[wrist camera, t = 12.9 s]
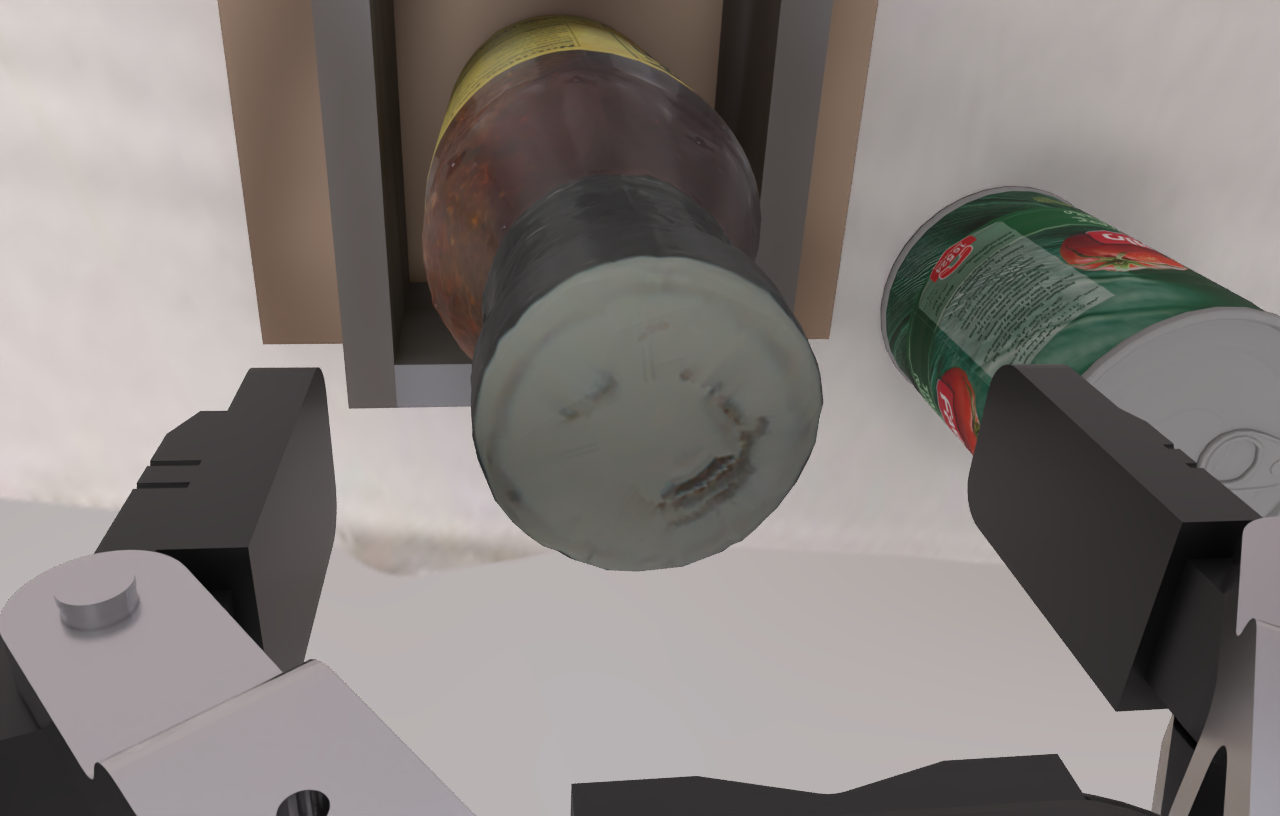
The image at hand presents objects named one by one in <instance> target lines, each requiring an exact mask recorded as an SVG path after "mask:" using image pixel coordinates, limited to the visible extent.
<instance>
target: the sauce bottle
mask: <svg viewBox="0 0 1280 816" xmlns="http://www.w3.org/2000/svg"><path fill="white" fill-rule="evenodd" d="M760 230H761V209H760V200H759V194H758V190H757V185H756V180H755V177H754V174H753V172H752V169H751V166H750V163H749V161H748V159H747V157H746V155H745V153H744V151H743V149H742V147H741V145H740V144H739V142H738V140H737V139H736V137H735V135H734V134H733V132H732V131H731V130H730V128H729V127H728V126H727V124H726V123H725V122H724V120H723V119H722V118H721V117H720V115H719V114H718V113H717V112H716V111H715V110H714V109H713V108H712V107H711V106H710V105H709V104H708V103H707V102H706V101H705V100H704V99H703V98H701V97H700V96H699V95H698V94H697V93H696V92H694V91H693V90H692V89H691V88H690V87H689V86H687V85H686V84H685V83H684V82H682V81H681V80H680V79H679V78H678V77H677V76H675V75H674V74H673V73H672V72H671V71H670V70H669V69H667V68H666V67H664V66H663V65H661V64H660V63H659V62H658V61H656V60H655V59H653V58H652V57H651V56H650V55H649V54H648V53H646V52H645V51H644V50H642V49H641V48H640V47H639V46H637V45H636V44H635V43H634V42H632V41H631V40H630V39H628V38H627V37H626V36H624V35H623V34H621V33H619V32H618V31H616V30H615V29H613V28H611V27H609V26H607V25H605V24H603V23H601V22H598V21H595V20H592V19H589V18H585V17H579V16H572V15H545V16H539V17H533V18H529V19H525V20H521V21H519V22H517V23H514V24H512V25H510V26H507V27H505V28H503V29H500V30H498V31H497V32H496V33H495V34H494V35H493V36H491V37H490V38H489V39H488V40H487V41H486V42H484V43H483V44H482V45H481V46H480V47H479V48H478V50H477V51H476V52H475V53H474V54H473V55H472V56H471V58H470V59H469V61H468V62H467V63H466V65H465V66H464V68H463V69H462V71H461V73H460V75H459V77H458V79H457V81H456V83H455V86H454V88H453V91H452V94H451V98H450V101H449V104H448V108H447V111H446V114H445V118H444V121H443V124H442V128H441V131H440V134H439V138H438V141H437V145H436V148H435V151H434V155H433V158H432V162H431V166H430V170H429V174H428V178H427V187H426V196H425V214H424V226H423V232H422V246H423V261H424V267H425V270H426V272H427V281H428V285H429V288H430V291H431V295H432V303H433V306H434V307H435V309H436V310H437V311H438V313H439V314H440V316H441V318H442V320H443V323H444V324H445V325H446V327H447V328H448V329H449V331H450V332H451V334H452V335H453V337H454V339H455V340H456V341H457V342H458V345H459V347H460V348H461V349H462V350H463V351H464V352H465V353H466V355H467V356H468V357H469V358H471V359H472V372H471V377H470V378H471V417H472V437H473V441H474V445H475V449H476V454H477V458H478V461H479V463H480V466H481V468H482V471H483V473H484V475H485V478H486V480H487V483H488V485H489V487H490V490H491V492H492V495H493V497H494V499H495V501H496V502H497V503H498V504H499V506H500V507H501V508H502V509H503V511H504V512H505V513H506V514H507V516H508V517H509V518H510V519H511V520H512V522H513V523H514V524H516V525H517V526H518V527H519V528H520V529H521V530H522V531H523V532H525V533H526V534H527V535H528V536H530V537H531V538H532V539H534V540H535V541H537V542H538V543H539V544H541V545H542V546H545V547H548V548H551V549H554V550H557V551H559V552H560V553H562V554H564V555H566V556H567V557H569V558H571V559H574V560H577V561H580V562H583V563H587V564H590V565H593V566H596V567H599V568H603V569H606V570H619V571H645V570H655V569H664V568H673V567H682V566H685V565H688V564H690V563H693V562H696V561H698V560H701V559H704V558H706V557H709V556H711V555H714V554H717V553H719V552H722V551H724V550H725V549H726V548H728V547H729V546H730V545H732V544H735V543H737V542H740V541H742V540H743V539H744V538H746V537H747V536H748V535H749V534H750V533H751V532H753V531H754V530H755V529H756V528H757V527H758V526H759V525H760V524H761V523H762V522H763V521H764V520H765V519H766V518H767V517H768V516H769V515H770V514H771V513H772V512H773V511H774V510H775V509H776V508H777V507H778V506H779V504H780V503H781V502H782V500H783V499H784V498H785V496H786V495H787V494H788V492H789V491H790V490H791V489H792V487H793V486H794V485H795V483H796V482H797V480H798V478H799V476H800V474H801V472H802V471H803V469H804V467H805V465H806V463H807V461H808V459H809V457H810V455H811V452H812V450H813V447H814V445H815V442H816V436H817V429H818V423H819V417H820V413H821V409H822V406H823V395H822V386H821V377H820V372H819V367H818V363H817V361H816V358H815V356H814V353H813V351H812V349H811V347H810V345H809V342H808V339H807V338H806V336H805V333H804V331H803V328H802V326H801V325H800V323H799V322H798V320H797V318H796V317H795V315H794V314H793V312H792V311H791V309H790V308H789V306H788V304H787V302H786V300H785V297H784V295H783V294H782V292H781V291H780V290H779V289H778V287H777V286H776V285H775V284H774V283H773V282H772V280H771V279H770V278H769V277H768V276H767V275H766V274H765V272H764V271H763V270H762V269H761V268H760V267H759V266H758V265H757V264H756V263H755V260H756V257H757V253H758V249H759V243H760Z"/></svg>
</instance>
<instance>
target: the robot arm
mask: <svg viewBox="0 0 1280 816" xmlns="http://www.w3.org/2000/svg"><path fill="white" fill-rule="evenodd" d="M968 501H969V507H970V511H971V514H972V517H973V520H974V522H975V524H976V525H977V527H978V528H979V530H980V531H981V532H982V534H983V535H984V536H985V538H986V539H987V540H988V542H989V543H990V544H991V546H992V547H993V548H994V550H995V551H996V552H997V554H998V555H999V556H1000V558H1001V559H1002V560H1003V562H1004V563H1005V564H1006V566H1007V567H1008V568H1009V570H1010V571H1011V572H1012V574H1013V575H1014V576H1015V578H1016V579H1017V580H1018V582H1019V583H1020V584H1021V586H1022V587H1023V588H1024V590H1025V591H1026V592H1027V594H1028V595H1029V596H1030V598H1031V599H1032V600H1033V602H1034V603H1035V604H1036V606H1037V607H1038V608H1039V610H1040V611H1041V612H1042V614H1043V615H1044V616H1045V617H1046V619H1047V620H1048V622H1049V623H1050V624H1051V625H1052V627H1053V628H1054V630H1055V631H1056V632H1057V634H1058V635H1059V636H1060V638H1061V639H1062V640H1063V642H1064V643H1065V644H1066V646H1067V647H1068V648H1069V650H1070V651H1071V652H1072V654H1073V655H1074V656H1075V658H1076V659H1077V660H1078V661H1079V663H1080V664H1081V666H1082V667H1083V668H1084V670H1085V671H1086V672H1087V674H1088V675H1089V676H1090V678H1091V679H1092V680H1093V682H1094V683H1095V684H1096V685H1097V687H1098V688H1099V690H1100V691H1101V692H1102V693H1103V695H1104V696H1105V698H1106V699H1107V700H1108V702H1109V703H1110V704H1111V706H1112V707H1113V708H1114V710H1115V711H1134V710H1152V709H1169V710H1170V711H1171V712H1172V717H1171V719H1170V722H1169V724H1168V727H1167V730H1166V732H1165V735H1164V738H1163V741H1162V745H1161V751H1160V758H1159V765H1158V771H1157V779H1156V784H1155V791H1154V798H1153V804H1152V811H1148V810H1145V809H1142V808H1139V807H1136V806H1133V805H1130V804H1127V803H1124V802H1121V801H1116V800H1112V799H1108V798H1104V797H1100V796H1096V795H1090V794H1085V793H1082V792H1081V790H1080V789H1079V787H1078V786H1077V784H1076V782H1075V781H1074V779H1073V777H1072V776H1071V775H1070V773H1069V771H1068V770H1067V768H1066V767H1065V765H1064V764H1063V762H1062V760H1061V759H1060V757H1059V756H1058V754H1048V755H1031V756H1015V757H999V758H983V759H967V760H950V761H942V762H939V763H936V764H932V765H930V766H926V767H923V768H920V769H916V770H913V771H910V772H907V773H903V774H900V775H897V776H894V777H891V778H887V779H884V780H881V781H878V782H875V783H872V784H868V785H865V786H862V787H859V788H855V789H853V790H849V791H846V792H842V793H837V794H818V793H811V792H804V791H797V790H790V789H783V788H776V787H769V786H762V785H755V784H747V783H741V782H734V781H727V780H720V779H713V778H705V777H699V776H691V777H675V778H659V779H643V780H627V781H610V782H594V783H578V784H572V791H571V816H1280V517H1266V518H1263V517H1262V516H1261V515H1260V514H1258V513H1257V512H1256V511H1255V510H1253V509H1252V508H1251V507H1250V506H1249V505H1247V504H1246V503H1245V502H1244V501H1243V500H1241V499H1240V498H1239V497H1238V496H1236V495H1235V494H1234V493H1233V492H1232V491H1230V490H1229V489H1228V488H1227V487H1226V486H1224V485H1223V484H1222V483H1221V482H1219V481H1218V480H1217V479H1216V478H1215V477H1213V476H1212V475H1211V474H1210V473H1208V472H1207V471H1206V470H1205V469H1204V468H1197V463H1196V462H1195V461H1194V460H1193V459H1191V458H1190V457H1189V456H1188V455H1187V454H1185V453H1184V452H1183V451H1182V450H1181V449H1174V444H1173V443H1172V442H1171V441H1170V440H1168V439H1167V438H1166V437H1165V436H1164V435H1162V434H1161V433H1160V432H1159V431H1157V430H1156V429H1155V428H1154V427H1153V426H1151V425H1150V424H1149V423H1148V422H1147V421H1144V420H1142V419H1140V418H1138V417H1136V416H1134V415H1132V414H1130V413H1128V412H1126V411H1124V410H1122V409H1120V408H1119V407H1117V406H1116V405H1115V404H1114V403H1113V402H1111V401H1110V400H1109V399H1108V398H1107V397H1106V396H1104V395H1103V394H1102V393H1101V392H1100V391H1098V390H1097V389H1096V388H1095V387H1094V386H1092V385H1091V384H1090V383H1089V382H1088V381H1086V380H1085V379H1084V378H1083V377H1082V376H1080V375H1079V374H1078V373H1077V372H1076V371H1074V370H1073V369H1072V368H1071V367H1069V366H1068V365H1065V364H1009V365H1003V366H1001V367H1000V368H999V369H998V370H997V371H996V372H995V374H994V376H993V378H992V380H991V382H990V386H989V390H988V394H987V398H986V403H985V407H984V411H983V416H982V420H981V424H980V429H979V433H978V437H977V442H976V446H975V450H974V455H973V459H972V463H971V468H970V472H969V477H968ZM336 507H337V505H336V485H335V475H334V465H333V455H332V446H331V436H330V426H329V416H328V406H327V396H326V388H325V381H324V377H323V374H322V371H321V369H320V368H251V369H249V371H248V372H247V374H246V376H245V378H244V380H243V382H242V384H241V386H240V388H239V390H238V391H237V393H236V395H235V397H234V399H233V401H232V403H231V405H230V407H229V409H228V411H200V412H199V413H197V414H196V415H194V416H193V417H191V418H190V419H188V420H187V421H185V422H184V423H182V424H181V425H179V426H178V427H177V428H175V429H174V430H172V431H171V432H169V433H168V434H166V436H165V438H164V439H163V441H162V443H161V444H160V446H159V447H158V449H157V451H156V452H155V454H154V456H153V457H152V459H151V461H150V466H147V467H146V469H145V471H144V472H143V474H142V475H141V477H140V479H139V480H138V482H137V489H133V490H132V492H131V494H130V495H129V497H128V498H127V500H126V502H125V503H124V505H123V507H122V508H121V510H120V512H119V513H118V515H117V517H116V518H115V520H114V522H113V523H112V525H111V526H110V528H109V530H108V531H107V533H106V535H105V537H104V538H103V540H102V541H101V543H100V545H99V546H98V548H97V550H96V551H95V553H94V554H92V555H88V556H84V557H81V558H78V559H74V560H71V561H68V562H65V563H63V564H60V565H58V566H55V567H53V568H51V569H49V570H47V571H45V572H43V573H42V574H40V575H38V576H36V577H35V578H33V579H32V580H30V581H29V582H27V583H26V584H25V585H23V586H22V587H21V588H20V589H19V590H17V591H16V592H15V593H14V594H13V595H12V597H11V598H10V599H9V600H8V601H7V603H6V604H5V606H4V607H3V609H2V611H1V614H0V816H476V815H475V814H474V813H473V812H472V811H471V810H470V809H469V808H468V807H467V806H466V805H465V804H464V803H463V802H462V801H461V800H460V799H459V798H458V797H457V796H456V795H455V794H454V793H453V792H452V791H451V790H450V789H449V788H448V787H447V786H446V785H445V784H444V783H443V782H442V781H441V780H440V779H439V778H438V777H437V776H436V775H435V774H434V772H433V771H431V770H430V768H429V767H427V765H426V764H425V763H424V762H423V761H422V760H421V759H420V758H419V757H418V756H417V755H416V754H415V753H414V752H413V751H412V750H411V749H410V748H409V747H408V746H407V745H406V744H405V743H404V742H403V741H402V740H401V739H400V738H399V737H398V736H397V735H396V734H395V733H394V732H393V731H392V730H391V729H390V728H389V727H388V726H387V725H386V724H385V723H384V722H383V721H382V720H381V719H380V718H379V717H378V716H377V714H376V713H375V712H374V711H372V709H371V708H370V707H368V706H367V704H366V703H365V702H364V701H363V700H362V699H361V698H360V697H359V696H358V695H357V694H356V693H355V692H354V691H353V690H352V689H351V688H350V687H349V686H348V685H347V684H346V683H345V682H344V681H343V680H342V679H341V678H340V677H339V676H338V675H337V674H336V673H335V672H334V671H333V670H332V669H331V668H330V667H329V666H327V665H326V664H324V663H323V662H321V661H318V660H316V659H310V660H308V661H306V662H304V658H305V654H306V650H307V646H308V642H309V638H310V634H311V630H312V626H313V622H314V618H315V614H316V610H317V606H318V602H319V598H320V594H321V590H322V587H323V583H324V579H325V574H326V570H327V567H328V563H329V559H330V555H331V551H332V547H333V542H334V537H335V529H336ZM303 662H304V663H303Z"/></svg>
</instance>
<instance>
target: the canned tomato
mask: <svg viewBox="0 0 1280 816" xmlns="http://www.w3.org/2000/svg"><path fill="white" fill-rule="evenodd" d="M881 329H882V333H883V338H884V342H885V346H886V349H887V351H888V353H889V355H890V357H891V359H892V361H893V363H894V365H895V367H896V368H897V369H898V370H899V371H900V373H901V374H902V375H903V376H904V377H905V378H906V380H907V381H909V382H910V383H911V384H913V385H914V387H915V388H916V390H917V391H918V392H919V393H920V394H921V395H922V397H923V398H924V399H925V400H926V401H927V402H928V403H929V405H930V406H931V407H932V408H933V409H934V411H935V412H936V413H937V414H938V415H939V416H940V417H941V419H942V420H943V421H944V422H945V423H946V425H948V427H949V428H950V429H951V430H952V431H953V433H954V434H955V435H956V436H957V437H958V438H959V439H960V440H961V442H962V443H963V444H964V445H965V446H966V448H967V449H968V450H969V451H970V452H971V453H972V454H973V455H974V450H975V446H976V442H977V437H978V433H979V429H980V424H981V420H982V416H983V411H984V407H985V403H986V398H987V394H988V390H989V386H990V382H991V380H992V378H993V376H994V374H995V372H996V371H997V370H998V369H999V368H1000V367H1001V366H1003V365H1009V364H1065V365H1068V366H1069V367H1071V368H1072V369H1073V370H1074V371H1076V372H1077V373H1078V374H1079V375H1080V376H1082V377H1083V378H1084V379H1085V380H1086V381H1088V382H1089V383H1090V384H1091V385H1092V386H1094V387H1095V388H1096V389H1097V390H1098V391H1100V392H1101V393H1102V394H1103V395H1104V396H1106V397H1107V398H1108V399H1109V400H1110V401H1111V402H1113V403H1114V404H1115V405H1116V406H1117V407H1119V408H1120V409H1122V410H1124V411H1126V412H1128V413H1130V414H1132V415H1134V416H1136V417H1138V418H1140V419H1142V420H1144V421H1147V422H1148V423H1149V424H1150V425H1151V426H1153V427H1154V428H1155V429H1156V430H1157V431H1159V432H1160V433H1161V434H1162V435H1164V436H1165V437H1166V438H1167V439H1168V440H1170V441H1171V442H1172V443H1173V444H1174V449H1181V450H1182V451H1183V452H1184V453H1185V454H1187V455H1188V456H1189V457H1190V458H1191V459H1193V460H1194V461H1195V462H1196V463H1197V468H1204V469H1205V470H1206V471H1207V472H1208V473H1210V474H1211V475H1212V476H1213V477H1215V478H1216V479H1217V480H1218V481H1219V482H1221V483H1222V484H1223V485H1224V486H1226V487H1227V488H1228V489H1229V490H1230V491H1232V492H1233V493H1234V494H1235V495H1236V496H1238V497H1239V498H1240V499H1241V500H1243V501H1244V502H1245V503H1246V504H1247V505H1249V506H1250V507H1251V508H1252V509H1253V510H1255V511H1256V512H1257V513H1258V514H1260V515H1261V516H1262V517H1263V518H1266V517H1280V316H1278V315H1276V314H1273V313H1269V312H1266V311H1264V310H1262V309H1260V308H1259V307H1257V306H1256V305H1254V304H1253V303H1252V302H1250V301H1248V300H1246V299H1244V298H1242V297H1241V296H1239V295H1237V294H1235V293H1233V292H1231V291H1230V290H1228V289H1226V288H1224V287H1222V286H1220V285H1218V284H1217V283H1215V282H1213V281H1211V280H1209V279H1207V278H1206V277H1204V276H1202V275H1200V274H1198V273H1196V272H1194V271H1192V270H1191V269H1189V268H1187V267H1185V266H1183V265H1181V264H1180V263H1178V262H1176V261H1174V260H1172V259H1171V258H1169V257H1167V256H1165V255H1163V254H1161V253H1159V252H1157V251H1156V250H1154V249H1152V248H1150V247H1148V246H1146V245H1144V244H1143V243H1141V242H1139V241H1137V240H1135V239H1134V238H1132V237H1130V236H1128V235H1126V234H1124V233H1123V232H1121V231H1119V230H1117V229H1115V228H1113V227H1111V226H1110V225H1108V224H1106V223H1104V222H1102V221H1100V220H1098V219H1097V218H1095V217H1093V216H1091V215H1089V214H1087V213H1085V212H1084V211H1082V210H1080V209H1077V208H1075V207H1074V206H1073V205H1072V204H1070V203H1069V202H1067V201H1065V200H1064V199H1062V198H1060V197H1058V196H1056V195H1054V194H1052V193H1049V192H1045V191H1042V190H1038V189H1034V188H1030V187H1002V188H996V189H990V190H984V191H981V192H979V193H976V194H973V195H971V196H968V197H965V198H962V199H960V200H959V201H957V202H955V203H954V204H952V205H950V206H948V207H947V208H945V209H943V210H941V211H940V212H939V213H938V214H936V215H935V216H934V217H933V218H932V219H930V220H929V221H928V222H927V223H926V224H924V225H923V226H922V227H921V228H920V229H919V230H918V232H917V233H916V234H915V235H914V236H913V237H912V238H911V240H910V241H909V242H908V243H907V244H906V246H905V247H904V249H903V250H902V252H901V254H900V255H899V257H898V259H897V260H896V262H895V264H894V265H893V268H892V270H891V273H890V275H889V278H888V281H887V283H886V286H885V290H884V295H883V301H882V306H881Z"/></svg>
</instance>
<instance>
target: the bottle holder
mask: <svg viewBox="0 0 1280 816" xmlns="http://www.w3.org/2000/svg"><path fill="white" fill-rule="evenodd" d="M877 5H878V0H218V7H219V15H220V22H221V30H222V38H223V45H224V53H225V60H226V68H227V75H228V83H229V90H230V98H231V106H232V113H233V121H234V128H235V136H236V143H237V151H238V158H239V166H240V173H241V181H242V189H243V196H244V204H245V211H246V219H247V226H248V234H249V241H250V249H251V257H252V264H253V272H254V279H255V287H256V294H257V302H258V309H259V317H260V325H261V332H262V340H263V344H340V343H343V350H344V360H345V371H346V382H347V393H348V403H349V409H350V408H403V407H457V406H471V378H470V377H471V372H472V359H471V358H469V357H468V356H467V355H466V353H465V352H464V351H463V350H462V349H461V348H460V347H459V345H458V342H457V341H456V340H455V339H454V337H453V335H452V334H451V332H450V331H449V329H448V328H447V327H446V325H445V324H444V323H443V320H442V318H441V316H440V314H439V313H438V311H437V310H436V309H435V307H434V306H433V303H432V295H431V291H430V288H429V285H428V281H427V272H426V270H425V267H424V261H423V246H422V232H423V226H424V214H425V196H426V187H427V178H428V174H429V170H430V166H431V162H432V158H433V155H434V151H435V148H436V145H437V141H438V138H439V134H440V131H441V128H442V124H443V121H444V118H445V114H446V111H447V108H448V104H449V101H450V98H451V94H452V91H453V88H454V86H455V83H456V81H457V79H458V77H459V75H460V73H461V71H462V69H463V68H464V66H465V65H466V63H467V62H468V61H469V59H470V58H471V56H472V55H473V54H474V53H475V52H476V51H477V50H478V48H479V47H480V46H481V45H482V44H483V43H484V42H486V41H487V40H488V39H489V38H490V37H491V36H493V35H494V34H495V33H496V32H497V31H498V30H500V29H503V28H505V27H507V26H510V25H512V24H514V23H517V22H519V21H521V20H525V19H529V18H533V17H539V16H545V15H572V16H579V17H585V18H589V19H592V20H595V21H598V22H601V23H603V24H605V25H607V26H609V27H611V28H613V29H615V30H616V31H618V32H619V33H621V34H623V35H624V36H626V37H627V38H628V39H630V40H631V41H632V42H634V43H635V44H636V45H637V46H639V47H640V48H641V49H642V50H644V51H645V52H646V53H648V54H649V55H650V56H651V57H652V58H653V59H655V60H656V61H658V62H659V63H660V64H661V65H663V66H664V67H666V68H667V69H669V70H670V71H671V72H672V73H673V74H674V75H675V76H677V77H678V78H679V79H680V80H681V81H682V82H684V83H685V84H686V85H687V86H689V87H690V88H691V89H692V90H693V91H694V92H696V93H697V94H698V95H699V96H700V97H701V98H703V99H704V100H705V101H706V102H707V103H708V104H709V105H710V106H711V107H712V108H713V109H714V110H715V111H716V112H717V113H718V114H719V115H720V117H721V118H722V119H723V120H724V122H725V123H726V124H727V126H728V127H729V128H730V130H731V131H732V132H733V134H734V135H735V137H736V139H737V140H738V142H739V144H740V145H741V147H742V149H743V151H744V153H745V155H746V157H747V159H748V161H749V163H750V166H751V169H752V172H753V174H754V177H755V180H756V185H757V190H758V194H759V200H760V209H761V230H760V243H759V249H758V253H757V257H756V260H755V263H756V264H757V265H758V266H759V267H760V268H761V269H762V270H763V271H764V272H765V274H766V275H767V276H768V277H769V278H770V279H771V280H772V282H773V283H774V284H775V285H776V286H777V287H778V289H779V290H780V291H781V292H782V294H783V295H784V297H785V300H786V302H787V304H788V306H789V308H790V309H791V311H792V312H793V314H794V315H795V317H796V318H797V320H798V322H799V323H800V325H801V326H802V328H803V331H804V333H805V336H806V338H807V339H829V335H830V328H831V321H832V314H833V307H834V300H835V293H836V287H837V280H838V273H839V266H840V259H841V252H842V245H843V239H844V232H845V225H846V218H847V211H848V204H849V197H850V191H851V184H852V177H853V170H854V163H855V156H856V149H857V142H858V136H859V129H860V122H861V115H862V108H863V101H864V94H865V88H866V81H867V74H868V67H869V60H870V53H871V46H872V40H873V33H874V26H875V19H876V12H877Z"/></svg>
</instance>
